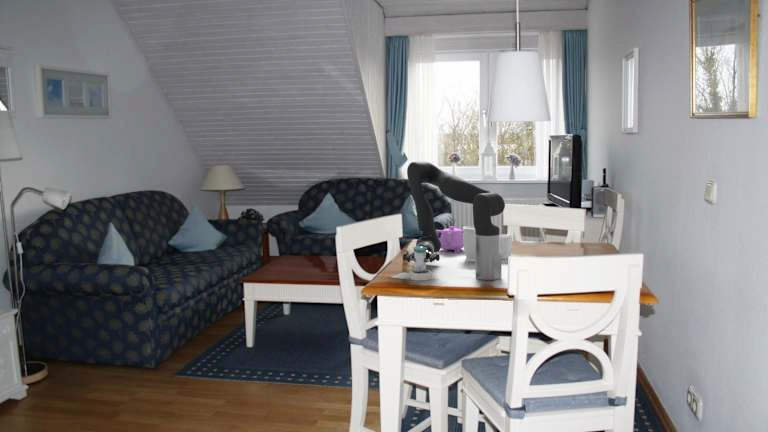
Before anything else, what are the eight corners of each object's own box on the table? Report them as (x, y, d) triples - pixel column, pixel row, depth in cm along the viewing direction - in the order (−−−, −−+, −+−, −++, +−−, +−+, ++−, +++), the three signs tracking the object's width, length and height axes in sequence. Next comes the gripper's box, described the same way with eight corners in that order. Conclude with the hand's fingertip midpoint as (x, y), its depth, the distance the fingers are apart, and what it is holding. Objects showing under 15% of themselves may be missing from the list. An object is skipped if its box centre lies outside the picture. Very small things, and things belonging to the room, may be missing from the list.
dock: (438, 279, 269) (438, 270, 268) (424, 284, 261) (424, 275, 260) (403, 275, 278) (403, 266, 277) (389, 280, 270) (389, 270, 269)
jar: (458, 260, 305) (457, 227, 303) (472, 257, 312) (472, 224, 310) (477, 264, 297) (477, 229, 295) (491, 260, 304) (491, 226, 302)
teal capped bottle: (429, 277, 267) (429, 246, 266) (422, 279, 263) (422, 248, 261) (417, 276, 270) (417, 245, 269) (410, 278, 266) (410, 247, 264)
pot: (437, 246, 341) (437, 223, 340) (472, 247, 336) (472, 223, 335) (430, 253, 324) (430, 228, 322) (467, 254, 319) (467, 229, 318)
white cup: (512, 259, 305) (512, 237, 304) (494, 259, 307) (494, 237, 305) (512, 256, 313) (512, 234, 311) (494, 256, 314) (494, 234, 313)
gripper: (406, 242, 280) (400, 249, 265) (441, 242, 278) (437, 250, 262) (406, 260, 281) (401, 269, 266) (441, 261, 279) (438, 269, 263)
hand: (419, 259), depth 264 cm, fingers open, 8 cm apart
